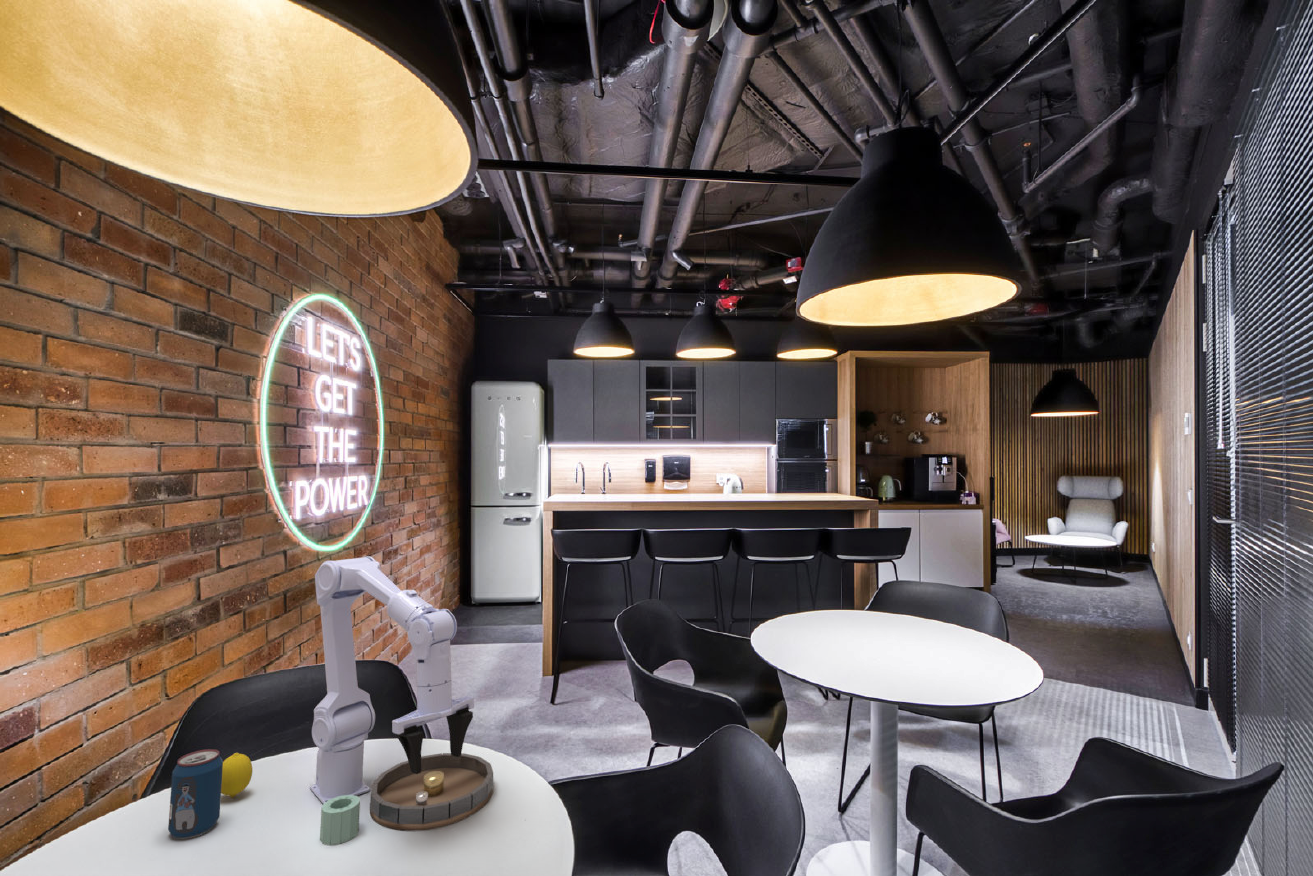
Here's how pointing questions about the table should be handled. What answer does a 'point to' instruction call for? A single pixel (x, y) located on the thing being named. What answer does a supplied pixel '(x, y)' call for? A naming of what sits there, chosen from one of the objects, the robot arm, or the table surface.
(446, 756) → the tray
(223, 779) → the lemon
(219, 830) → the table surface
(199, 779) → the soda can
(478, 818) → the table surface
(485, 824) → the table surface
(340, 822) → the gear
